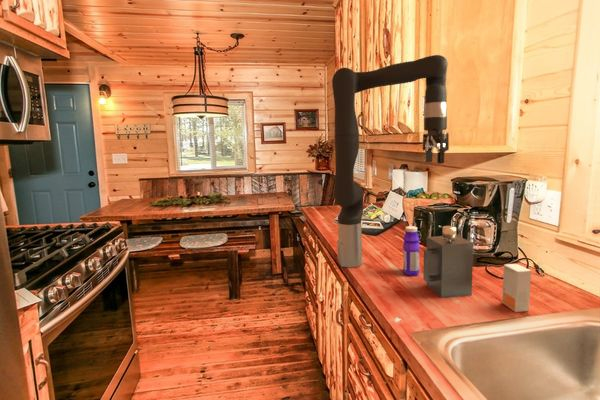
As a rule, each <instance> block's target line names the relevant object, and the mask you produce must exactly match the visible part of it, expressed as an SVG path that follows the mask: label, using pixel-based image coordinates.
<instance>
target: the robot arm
mask: <svg viewBox="0 0 600 400" xmlns="http://www.w3.org/2000/svg"><path fill="white" fill-rule="evenodd" d="M448 65H449V63H448V60H447V59H446V57H444V56H443V55H440V54H434V55H428V56H425V57H422V58H419V59H415V60H410V61H405V62H398V63H392V64H389V65H387V66H383V67H380V68H378V69H375V70H374V69H373V70H369V71H357V72H356V71H354V70H352V69H351V68H349V67H341V68H339V69H337V70H336V71H335V72H334V74H333V76H332V78H331V79H332V80H331V86H332V94H333V99H334V101H333V102H334V133H333V134H334V162H335V163H334V164H335V171H334V173H335V175H334V176H335V177H334V186H333V187H334V189H333V197H334V200H335V202H336V204H337V205H338V206H340V207H341V209H340V212H339V214H338V216H337V232H338V233H337V234H338V236H337V241H336V245H337V246H336V248H337V249H336V250H337V263H338V265H339V266H340V267H341V268H357V267H361V266H362V264H363V250H362V249H363V248H362V246H363V243H362V242H363V240H362V238H363V237H362V217H363V214H364V213H363V212H364V191H363V188H362V186H361V185H360V184H359V183H358V182H356V181H354V180H355V179H354V172H355V171H354V170H355V164H356V161H357V157H358V155H359V154H358V153H359V149H360V130H359V124H358V118H357V114H356V110H355V95H356V94H357V93H361V92H363V91H366V90H370V89H375V88H376V89H377V88H380V87H387V86H394V85H401V84H408V83H413V82H416V81H417V80H421V79H422V80H423V79H425V91H424V108H423V109H424V110H423V111H424V112H423V115H424V116H423V130H424V131H425V132H426V131H427V133H423V135H422V150H423V151H424V153H425V163H433V151H434V148H436V151H437V155H436V163H437V164H445V153H446V152H448V151H449V150H450V149H449V148H450V145H449V144H450V143H449V141H450V139H449V137H450V136H449V132H444V131H446V130H447V128H448V106H447V98H448V97H447V96H448V95H447V94H448V92H447V90H448V89H447V86H446V85H447V73H448V72H447V71H448Z"/></svg>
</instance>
